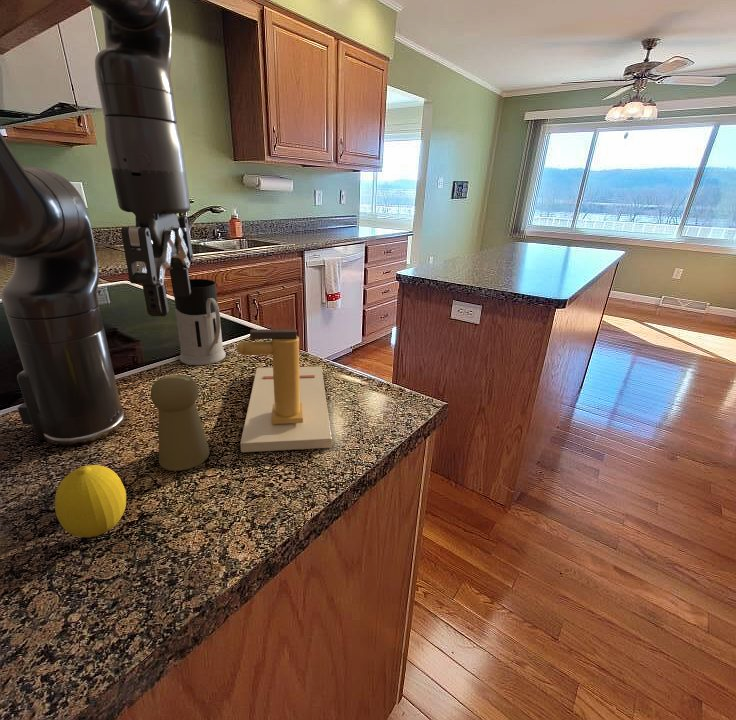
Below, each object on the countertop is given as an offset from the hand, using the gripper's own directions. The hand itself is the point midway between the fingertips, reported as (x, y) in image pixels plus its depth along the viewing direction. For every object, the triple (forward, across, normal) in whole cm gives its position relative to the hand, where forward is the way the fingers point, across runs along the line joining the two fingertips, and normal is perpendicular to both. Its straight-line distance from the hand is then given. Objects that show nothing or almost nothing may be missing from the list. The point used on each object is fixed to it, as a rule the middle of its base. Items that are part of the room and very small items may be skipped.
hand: (171, 304), depth 52 cm
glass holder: (+18, -22, -3) cm, 29 cm away
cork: (+18, +9, +2) cm, 20 cm away
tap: (+16, +2, +12) cm, 20 cm away
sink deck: (+18, -4, +14) cm, 23 cm away
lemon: (+17, +21, -2) cm, 27 cm away
